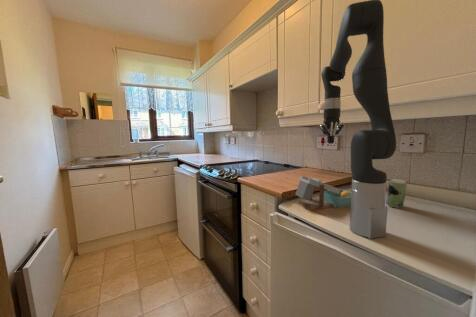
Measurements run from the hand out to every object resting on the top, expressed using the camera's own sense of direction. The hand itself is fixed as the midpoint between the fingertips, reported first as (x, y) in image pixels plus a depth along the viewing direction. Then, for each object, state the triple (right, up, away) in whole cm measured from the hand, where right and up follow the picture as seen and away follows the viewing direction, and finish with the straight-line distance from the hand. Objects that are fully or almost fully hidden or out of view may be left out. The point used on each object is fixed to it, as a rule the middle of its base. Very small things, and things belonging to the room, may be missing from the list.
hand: (330, 143), depth 101 cm
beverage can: (+21, -29, -14) cm, 38 cm away
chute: (-13, -27, -8) cm, 31 cm away
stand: (-12, -29, -10) cm, 32 cm away
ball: (+4, -25, -6) cm, 26 cm away
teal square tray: (+2, -28, -7) cm, 29 cm away
